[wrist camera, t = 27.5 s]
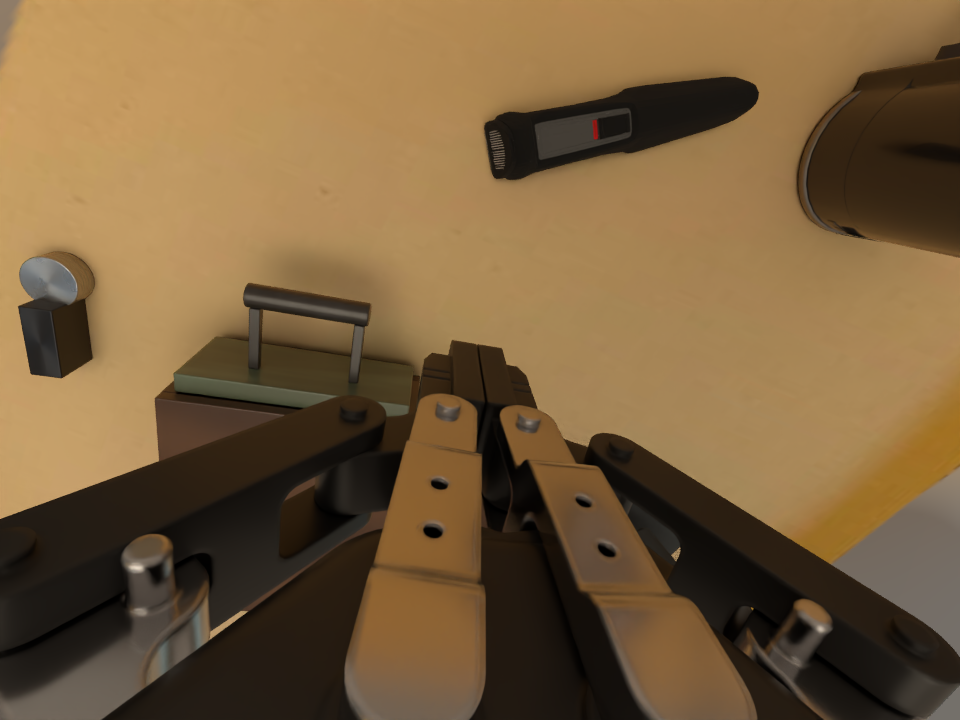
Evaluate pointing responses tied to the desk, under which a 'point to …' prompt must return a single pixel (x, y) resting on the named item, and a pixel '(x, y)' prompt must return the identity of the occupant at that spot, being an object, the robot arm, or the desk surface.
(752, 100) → the electric trimmer
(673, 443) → the desk surface
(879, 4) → the desk surface
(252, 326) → the drawer
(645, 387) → the desk surface
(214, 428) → the cabinet
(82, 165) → the desk surface
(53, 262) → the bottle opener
